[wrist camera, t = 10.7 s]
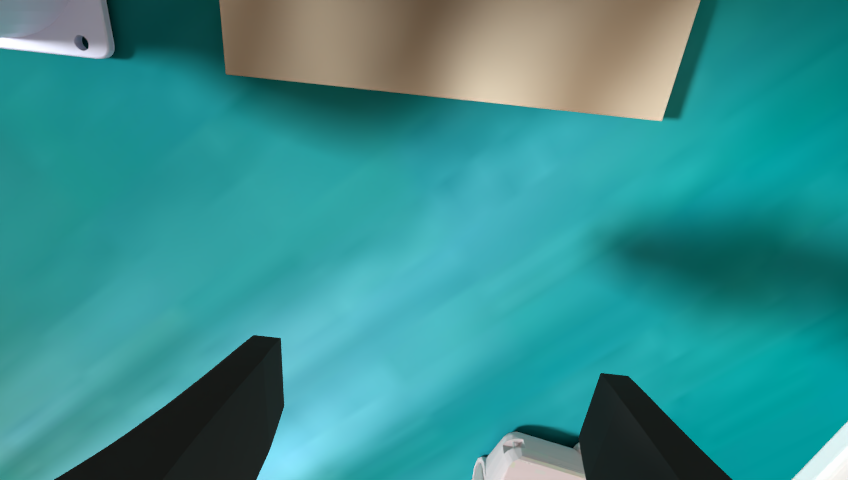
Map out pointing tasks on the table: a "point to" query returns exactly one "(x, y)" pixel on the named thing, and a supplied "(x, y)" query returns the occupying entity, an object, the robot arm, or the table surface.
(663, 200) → the table surface
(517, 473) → the mobile phone
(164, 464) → the robot arm
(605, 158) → the table surface
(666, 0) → the socket board
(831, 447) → the external hard drive
